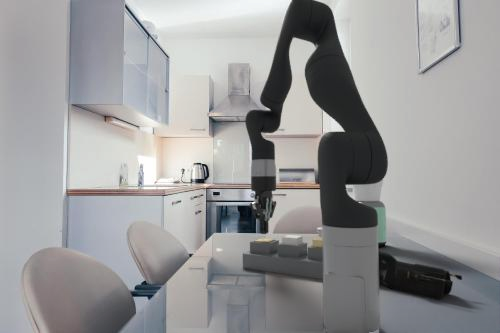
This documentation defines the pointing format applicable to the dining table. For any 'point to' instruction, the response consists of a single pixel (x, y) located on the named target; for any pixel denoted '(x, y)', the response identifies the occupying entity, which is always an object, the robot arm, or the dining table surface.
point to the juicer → (373, 205)
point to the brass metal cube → (317, 242)
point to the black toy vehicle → (414, 277)
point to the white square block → (292, 240)
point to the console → (285, 259)
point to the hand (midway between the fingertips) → (264, 233)
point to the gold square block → (264, 240)
